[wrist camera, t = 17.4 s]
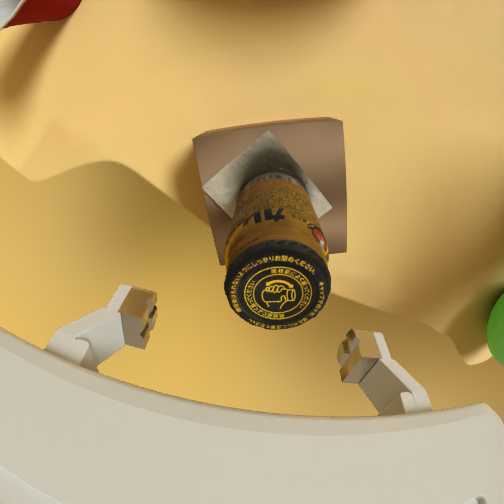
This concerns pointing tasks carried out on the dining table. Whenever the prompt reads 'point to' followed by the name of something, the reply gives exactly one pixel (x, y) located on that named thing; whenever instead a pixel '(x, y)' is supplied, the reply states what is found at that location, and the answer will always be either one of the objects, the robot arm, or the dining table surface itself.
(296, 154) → the walnut block
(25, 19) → the plastic cup
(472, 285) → the dining table surface
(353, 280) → the dining table surface
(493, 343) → the toy bird
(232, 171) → the condiment
